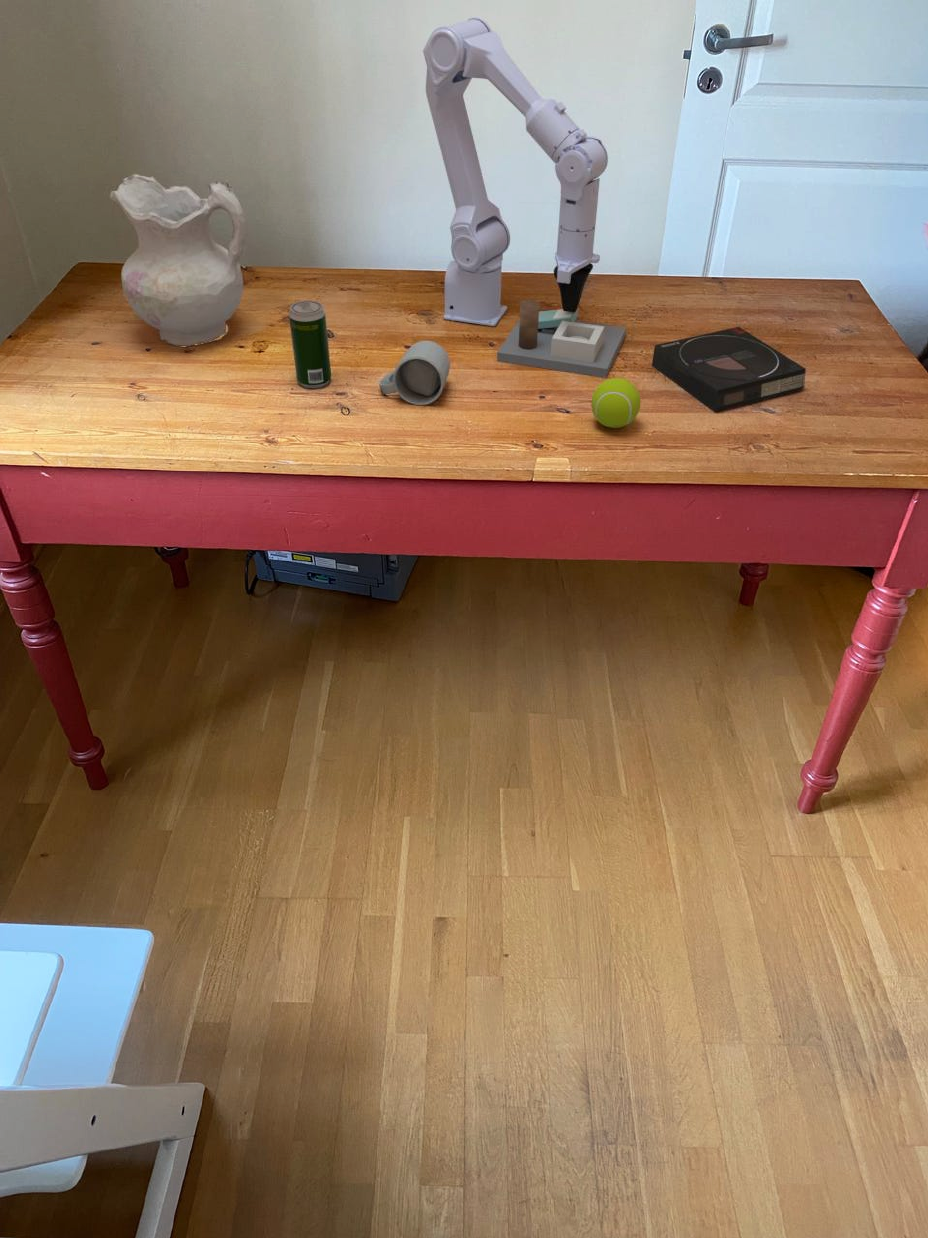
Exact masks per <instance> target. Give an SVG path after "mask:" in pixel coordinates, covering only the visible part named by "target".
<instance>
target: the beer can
mask: <svg viewBox="0 0 928 1238" xmlns="http://www.w3.org/2000/svg"><path fill="white" fill-rule="evenodd" d="M326 318H327V316H326V311H325V310H324V305H323V304H322V303H321V302H319V301H316V300H302V301H297V302H294V303H292V304H291V305H290V306H289V313H288V319H289V328H290V336H291V343H292V353H293V360H294V368H295V376H296V381H297V383H299V385H300V387H302V386H303V387H302V388H304V387H305V389H308V388H309V390H312V389H314V390H316V389H321V388H324V387H326V386H328V385H329V383H330V382H331V379H332V370H331V359H330V347H329V338H328V337H329V336H328V328H327V327H328V326H327V319H326Z"/></svg>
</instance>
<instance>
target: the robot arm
mask: <svg viewBox="0 0 928 1238" xmlns="http://www.w3.org/2000/svg"><path fill="white" fill-rule="evenodd" d="M503 45H504V44H503V42H502V40H501V37H500V35H499V34H497V32H495V31H494V30H493V29H492V27H491V26H490V25H489V23H488V22H487V21H485V20H484V19H483V18H480V17H477V16H476V17H471V18H468V19H467V20H464V21H461V22H457V23H453V24H451V25H450V24H449V25H443V26H442V25H441V26H438V27H437V28H435V29H434V30H433V31H432V32H431V34H430V36H429V38H428V39H427V41H426V43H425V45H424V48H423V50H422V53H423V57H424V61H425V64H426V77H425V78H426V79H425V94H426V95H425V96H426V99H427V102H428V106H429V111H430V114H431V118H432V122H433V126H434V130H435V133H436V137H437V141H438V145H439V148H440V152H441V156H442V160H443V164H444V167H445V171H446V175H447V179H448V183H449V187H450V192H451V195H452V199H453V203H454V207H455V213H454V215H453V218H452V220H451V223H450V226H449V230H450V234H451V245H450V250H451V254H452V255H451V256H452V257H453V260H450V262H449V263H448V265H447V267H446V271H445V276H444V315H443V319H444V320H447V321H455V322H463V323H470V324H474V325H475V324H477V325H484V326H490V327H495V326H496V325H497V323H499V321H500V320H501V318H502V317H503V316H504V314H505V313H506V312H507V310H508V306H507V305H501V297H502V296H501V295H502V294H501V293H502V292H501V291H502V268H503V266H502V264H503V259H504V253H506V251H507V250H508V249H509V247H510V244H511V233H510V231H509V230H510V229H509V228H508V226H507V224H506V222H504V220H503V218H502V215H501V211H500V208H499V207H498V206H496V204H494V203H493V202H491V201H490V200H489V197H488V194H487V189H486V186H485V181H484V180H485V179H484V178H483V177H484V176H483V173H482V169H481V165H480V160H479V157H478V153H477V152H478V151H477V148H476V144H475V140H474V136H473V135H474V134H473V133H472V131H473V130H472V128H471V123H470V119H469V116H468V115H469V114H468V111H467V107H466V103H465V98H464V95H465V91H466V90H467V88H468V86H469V85H470V82H471V80H472V79H483V80H487V81H489V82H490V83H491V84H492V85H493V86H494V87H495V88H496V89H497V91H498V92H500V93H501V94H502V96H504V97H505V98H506V99H507V100H508V101H509V102H510V104H512V105H513V106H514V107H515V108H516V110H518V111H519V113H520V114H522V115H523V116H524V117H525V130H526V133H528V135H530V136H531V138H532V139H533V140H534V141H535V142H536V143H537V145H538V146H539V147H540V148H541V149H542V150H543V152H544V153H546V155H547V156H548V157H549V158H550V160H551V161H552V162H553V163H554V170H555V175H556V177H557V179H558V181H559V183H560V201H559V202H560V203H559V215H558V216H559V217H558V228H557V229H558V230H557V231H558V232H557V241H556V242H557V243H556V245H557V246H556V252H555V253H554V255H555V256H554V259H555V260H554V261H555V263H556V266H555V267H554V268H553V276H554V278H555V280H556V282H557V285H558V288H559V293H560V299H561V306H562V309H563V311H567V312H576V310H578V308H579V305H580V302H581V298H582V295H583V291H584V288H585V284H586V282H587V279H588V277H589V275H590V274H591V272H592V271H593V269H594V265H593V264H598V263H599V262H600V259H601V255H600V254H596V253H594V245H595V235H596V234H595V233H596V223H597V213H598V201H599V190H600V180H601V179H600V178H599V177H600V176H602V175H603V173H604V172H605V171H606V169H607V168H608V163H609V160H608V159H609V154H608V152H607V149H606V147H605V145H604V144H603V141H602V140H601V139H600V138H598V137H596V136H592V135H590V136H589V135H587V132H586V131H585V129H580V128H579V126H578V125H577V123H575V122H574V120H573V119H572V118H571V117H570V116H569V114H567V112H565V111H566V110H567V108H566V106H565V105H564V103H563V102H560V101H559V102H557V101H556V100H555V99H552V98H547V99H545V98H542V96H541V95H540V94H539V93H538V91H537V90H536V88H535V87H534V86H533V85H532V84H531V82H530V81H529V80H528V78H527V77H526V76H525V74H524V73H523V72H522V70H521V69H520V68H519V66H518V65H517V64H516V63H515V61H514V60H513V59H512V57H511V56H510V55H509V54H508V52H507V51H506V50H505V49H504V46H503Z"/></svg>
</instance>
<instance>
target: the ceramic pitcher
mask: <svg viewBox="0 0 928 1238" xmlns="http://www.w3.org/2000/svg"><path fill="white" fill-rule="evenodd" d="M207 188H209V189H208V190H209V195H208V197H207V198H201V197H200V196H199V195H197V194H196V192H194V191H193V190H192V189H191V188H190V187H188V186H187V185H186V186H178V185H176V186H175V185H174V186H169V187H167V188H166V187H163V185H161V183H159V182H158V181H157V179H156V178H154V176H153V175H151V176H149V177H148V176H145V175H140V174H138V173H134V174H132V175H128V176H127V175H126V177H125V178H123V179H122V180H121V184H119V186H118V188H117V190H113V191H111V192H110V193H109V194H110V195H109V198H110V199H111V201H113V202H114V203H116V204H118V205H119V206H120V208H121V209H122V211H123V213H124V214H125V216H126V218H127V219H128V220H129V222H130V223H131V225H132V227H133V228H134V230H135V233H136V236H137V239H138V246H137V248H136V250H135V251H133V252H132V254H131V255H130V256H129V257H128V259H127V260H125V262H124V264H123V265H122V268H121V273H120V274H121V276H120V277H121V286H122V291H123V294H124V295H123V296H124V297H125V298H126V300H127V303H128V304H129V306H130V308H131V310H132V311H133V312H134V313H135V314H136V315H137V316H138V317H139V318H140V319H141V320H142V322H144V323H146V325H149V326H150V327H153V328H155V329H156V330H157V329H158V330H159V331H158V332H159V338H160V339H161V338H162V339H163V340H164V341H165V343H166V342H167V343H166V344H168V343H169V345H172V346H176V347H179V346H189V347H192V346H191V345H195V344H201V343H206V342H210V341H213V340H215V339H217V338H219V337H220V336H221V335H223V334H225V333H226V325H228V324H227V323H226V321H227V320H229V319H231V318H232V316H233V315H234V313H235V311H237V308H238V307H239V304H240V302H241V299H242V296H243V291H244V280H243V279H244V277H243V274H242V270H241V265H240V263H239V260H240V259H241V258H242V255H243V253H244V246H245V243H246V239H247V227H246V220H245V215H244V210H243V208H242V205H241V203H240V201H239V199H238V197H237V196H236V195H235V194H234V189H233V187H232V186H229V183H228V182H224V181H219V182H217V181H216V182H213V183H210V184H207ZM221 209H222V210H224V211H226V212H227V213H228V215H229V216H230V219H231V222H232V227H233V230H232V235H231V239H230V242H229V243H228V244H229V245H228V249H226V247H224V246H223V245H220V244H218V243H216V241H214V239H213V237H212V234H211V231H210V217H211V216H212V214H213V213H214V212H216V211H217V210H221ZM224 322H225V323H224ZM162 339H161V340H162ZM163 340H162V341H163ZM164 341H163V342H164ZM210 343H211V342H210ZM206 344H207V343H206ZM201 345H202V344H201ZM195 346H196V345H195Z"/></svg>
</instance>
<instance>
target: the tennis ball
mask: <svg viewBox="0 0 928 1238" xmlns="http://www.w3.org/2000/svg"><path fill="white" fill-rule="evenodd" d="M590 403H591V404H590V405H591V410H592V414H593V417H594V418H595V419H596V420H597V422H598V423H600V425H603V426H605V427H607V428H612V429H620V428H624V427H626V426H627V425H630V424H631V423H633V421H634V420H635V419H636V418H637V416H638V414H639V412H640V410H641V403H642V401H641V396H640V393H639V391H638V389H637V387H636V386H635V385H634V384H633V382H631V381H629V380H628V379H626V378H621V377H613V378H609V379H606V380H604V381H603V382H601V383H600V384H599V385H598V386H597V387H596V389H594V392H593V394H592V396H591V402H590Z"/></svg>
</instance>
